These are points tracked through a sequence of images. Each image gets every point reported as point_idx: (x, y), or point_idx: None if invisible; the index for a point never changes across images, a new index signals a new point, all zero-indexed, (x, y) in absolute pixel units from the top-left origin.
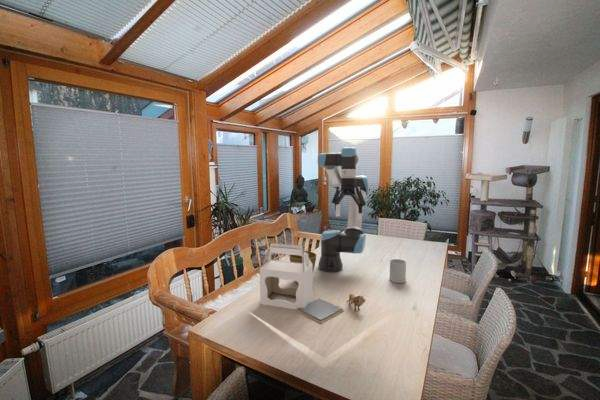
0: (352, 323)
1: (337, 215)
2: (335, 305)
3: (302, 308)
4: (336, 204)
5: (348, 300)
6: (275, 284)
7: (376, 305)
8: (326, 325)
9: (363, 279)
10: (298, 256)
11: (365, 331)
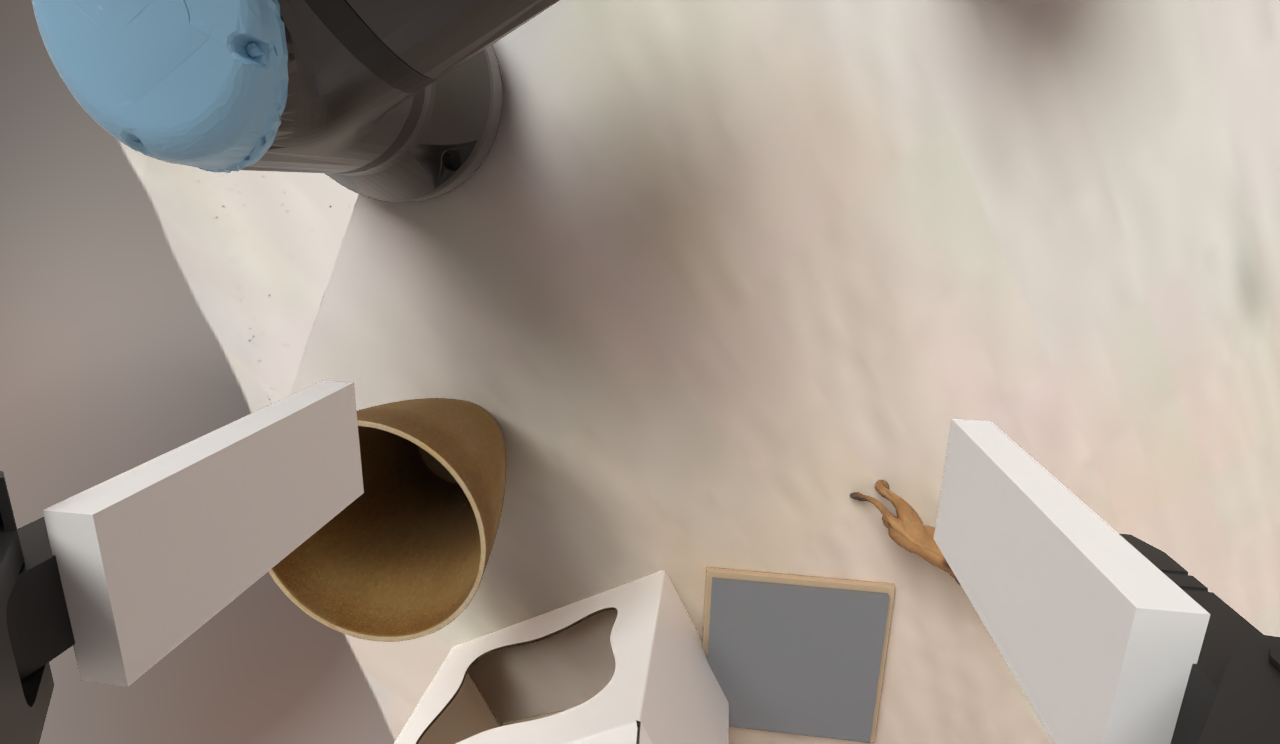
0: (997, 656)
1: (346, 480)
2: (840, 593)
3: None
4: (62, 643)
5: (866, 500)
6: (451, 677)
7: (1020, 415)
8: (902, 735)
9: (737, 86)
10: None
11: None
